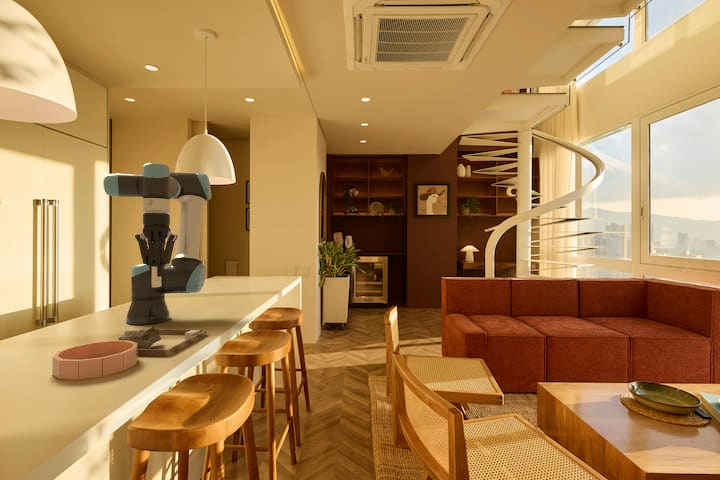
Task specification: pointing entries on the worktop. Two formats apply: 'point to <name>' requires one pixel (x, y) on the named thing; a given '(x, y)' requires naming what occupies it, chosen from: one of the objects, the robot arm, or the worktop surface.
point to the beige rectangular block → (191, 333)
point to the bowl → (94, 359)
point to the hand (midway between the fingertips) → (156, 286)
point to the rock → (142, 337)
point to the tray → (175, 348)
